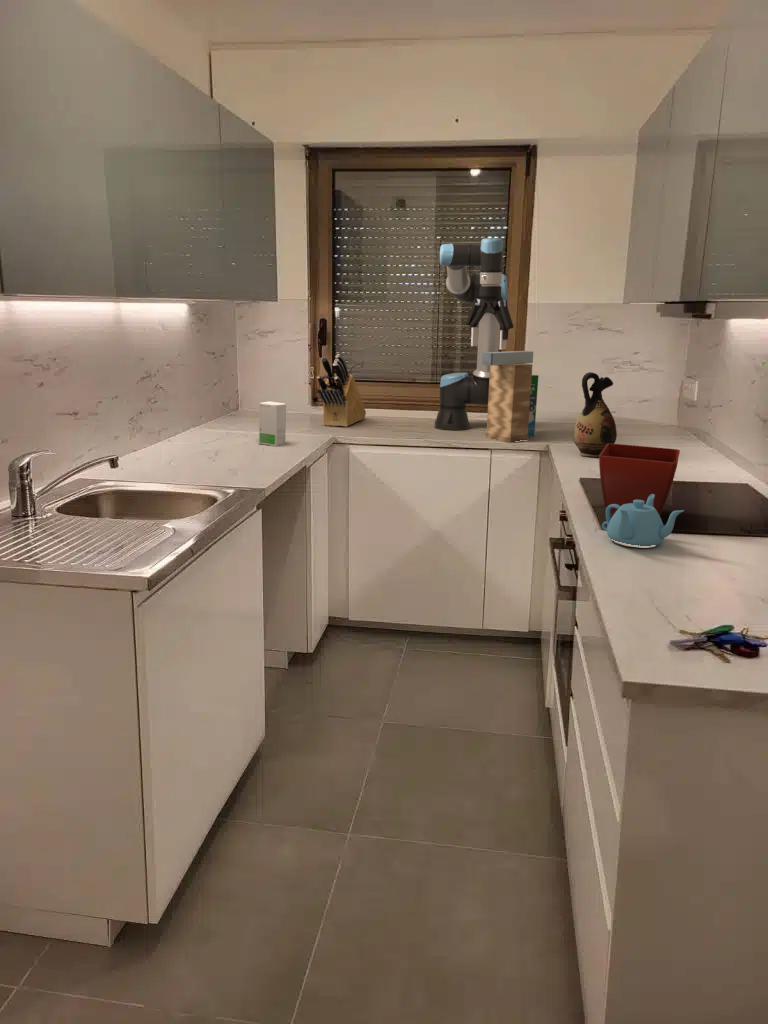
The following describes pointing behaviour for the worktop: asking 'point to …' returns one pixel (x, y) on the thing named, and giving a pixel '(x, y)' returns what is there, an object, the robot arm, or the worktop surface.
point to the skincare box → (272, 423)
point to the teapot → (638, 523)
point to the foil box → (507, 357)
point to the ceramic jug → (594, 419)
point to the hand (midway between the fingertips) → (488, 347)
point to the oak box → (509, 402)
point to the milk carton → (533, 405)
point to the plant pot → (636, 474)
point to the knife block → (340, 395)
